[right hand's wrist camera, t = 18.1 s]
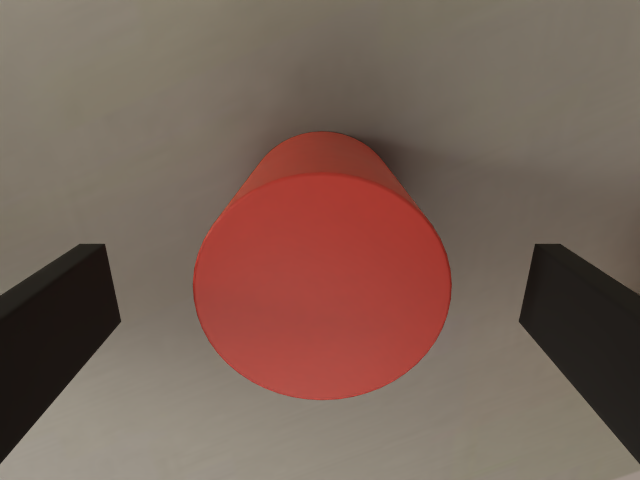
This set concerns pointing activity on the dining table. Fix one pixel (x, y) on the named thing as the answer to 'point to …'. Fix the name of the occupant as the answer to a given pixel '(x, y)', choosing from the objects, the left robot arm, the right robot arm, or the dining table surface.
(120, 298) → the dining table surface
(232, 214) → the can
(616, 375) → the right robot arm
